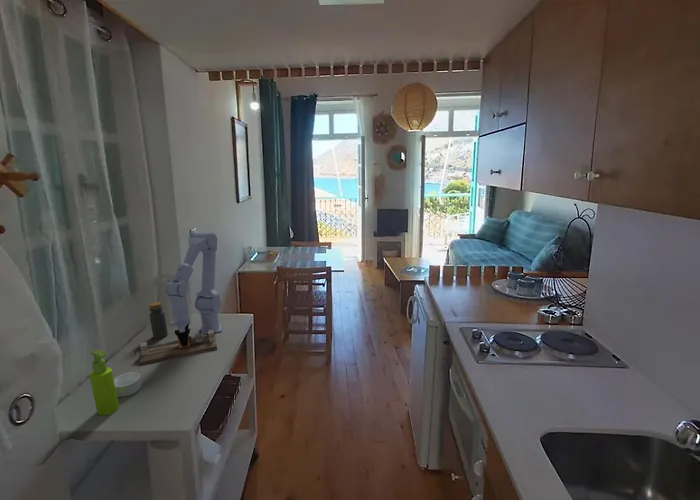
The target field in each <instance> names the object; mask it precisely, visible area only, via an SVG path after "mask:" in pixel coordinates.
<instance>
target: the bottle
mask: <svg viewBox="0 0 700 500" xmlns="http://www.w3.org/2000/svg"><path fill="white" fill-rule="evenodd" d="M163 308H164V306H163V305H162V302H161V301H153V302H151V303H149V312H150V313H149V321H150V327H151V332H152V337H153V339H157V340H159V339H163V338H166V337H167V336H168V335H169V334H168V325H167V321H166V315H165V314H166V313H165V311H163Z"/></svg>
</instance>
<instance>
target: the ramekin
mask: <svg viewBox="0 0 700 500" xmlns="http://www.w3.org/2000/svg"><path fill="white" fill-rule="evenodd" d="M114 383H115V388H116V393H117V398H118V397H119V398H124V397H125V398H126V397H129V396H132V395H134V394H136V393H137V392H138V391H140V389H141V387H142V383H141V374H140V373H138V372H136V371H135V372H133V371H132V372H126V373H123V374H120V375H118V376H116V377H114Z"/></svg>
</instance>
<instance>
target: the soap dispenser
mask: <svg viewBox="0 0 700 500" xmlns="http://www.w3.org/2000/svg"><path fill="white" fill-rule="evenodd" d="M90 354H91V355H92V356H93V361H92V362H91V365H92V371H91V372H90V373H89V379H90V385H91V389H92V390H91V391H92V394H93V401H94V405H95V408H96V413H97V415H98V416H102V417H104V416H108V415H112V414H113V413H115V412H117V411H118V410H119V408H120V404H119V398H118V396H117V393H116V388H115V383H114V379H115V377H114V374H113V369H112V367H109V366H107V364H106V360H105V358H103V357H106V356H107V353H106V352H104V351H103V350H100V349H95V350H93V351H91V352H90Z"/></svg>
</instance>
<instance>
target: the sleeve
mask: <svg viewBox="0 0 700 500" xmlns="http://www.w3.org/2000/svg"><path fill="white" fill-rule="evenodd" d="M189 336H190V335H189ZM189 336H188V346H190V342H189ZM177 340H178V344H179V348H183V347H182V345H181V343H180V340H179V338H178V337H177ZM188 346H184V347H188Z"/></svg>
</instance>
